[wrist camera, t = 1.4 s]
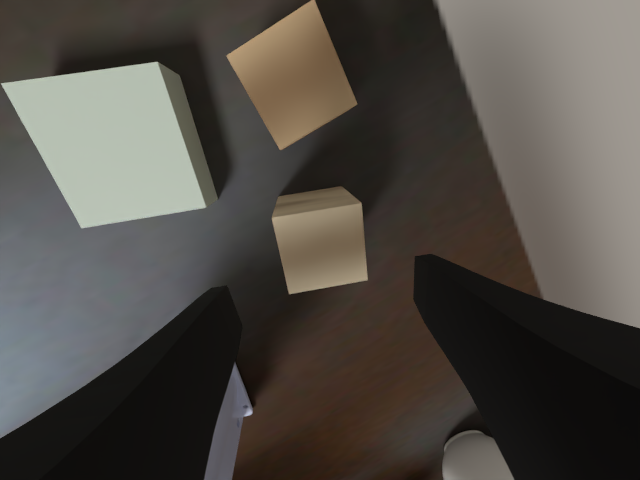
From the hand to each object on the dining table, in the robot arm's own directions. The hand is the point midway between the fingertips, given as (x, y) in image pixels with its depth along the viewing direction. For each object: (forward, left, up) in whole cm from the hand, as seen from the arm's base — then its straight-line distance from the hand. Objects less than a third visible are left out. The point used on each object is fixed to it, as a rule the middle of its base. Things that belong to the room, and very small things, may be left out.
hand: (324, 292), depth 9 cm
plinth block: (+6, +11, -11) cm, 17 cm away
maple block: (0, 0, -11) cm, 11 cm away
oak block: (+9, 0, -11) cm, 14 cm away
